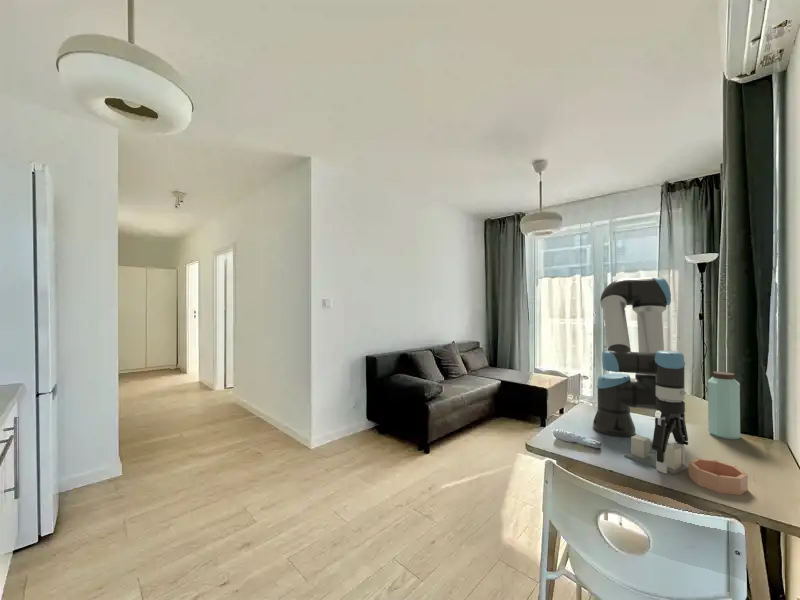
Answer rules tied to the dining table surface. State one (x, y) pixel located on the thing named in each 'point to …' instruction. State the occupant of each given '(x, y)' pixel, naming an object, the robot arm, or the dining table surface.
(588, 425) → the dining table surface
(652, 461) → the slate board
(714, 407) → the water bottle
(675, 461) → the stone
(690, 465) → the bowl
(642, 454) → the stone
